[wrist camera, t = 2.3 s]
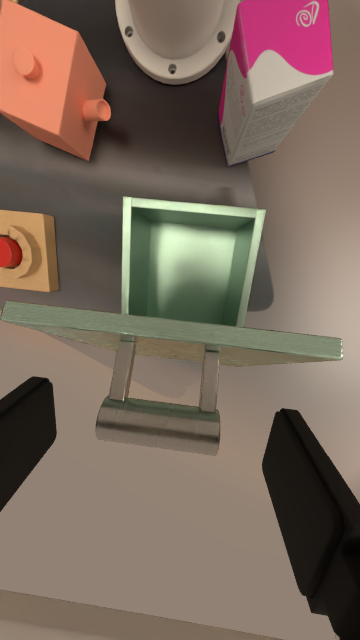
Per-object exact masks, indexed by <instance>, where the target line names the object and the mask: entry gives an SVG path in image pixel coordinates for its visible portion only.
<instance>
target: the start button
mask: <svg viewBox="0 0 360 640" xmlns="http://www.w3.org/2000/svg"><path fill="white" fill-rule="evenodd" d="M21 260H22V250H21V248H20V246H19V244H18V243H17V242H16V241H15V240H13V239H11V238H9V237H0V267H14V266H17V265H18V264H19V263H20V262H21Z"/></svg>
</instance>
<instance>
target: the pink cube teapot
mask: <svg viewBox="0 0 360 640" xmlns="http://www.w3.org/2000/svg"><path fill="white" fill-rule="evenodd" d="M105 87H106V83H105V81H104V79H103V77H102V75H101V73H100V71H99V69H98V68H97V66H96V64H95V62H94V60H93V58H92V56H91V55H90V53H89V51H88V49H87V47H86V45H85V43H84V41H83V40H82V38H81V36H80V34H79V32H77V31H75V30H73V29H71V28H68V27H66V26H64V25H62V24H60V23H58V22H55V21H53V20H51V19H49V18H47V17H45V16H42V15H40V14H38V13H36V12H34V11H32V10H29V9H27V8H25V7H23V6H21V5H18V4H16V3H14V2H12V1H10V0H2V6H1V15H0V113H1V114H3V115H4V116H5V117H7V118H8V119H10V120H11V121H12V122H14V123H15V124H17V125H18V126H19V127H21V128H22V129H24V130H25V131H26V132H28V133H29V134H31V135H32V136H33V137H35V138H36V139H38V140H41V141H43V142H45V143H48V144H50V145H52V146H55V147H57V148H59V149H62V150H64V151H66V152H69V153H71V154H73V155H75V156H78V157H80V158H82V159H85V160H87V161H89V158H90V153H91V149H92V147H93V140H94V136H95V131H96V127H97V123H98V121H107V120H109V119H110V116H111V109H110V106H109V104H108V103H107V102H106V101H105V100H104V99H103V96H104V91H105Z"/></svg>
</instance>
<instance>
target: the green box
mask: <svg viewBox="0 0 360 640" xmlns="http://www.w3.org/2000/svg"><path fill="white" fill-rule="evenodd" d="M265 212H266V210H265V209H256V208H246V207H235V206H224V205H213V204H202V203H190V202H179V201H168V200H157V199H146V198H135V197H124V196H123V225H122V292H121V313H122V314H130V315H139V316H148V317H157V318H166V319H175V320H184V321H192V322H201V323H210V324H219V325H228V326H237V327H243V326H244V321H245V316H246V311H247V306H248V300H249V295H250V290H251V285H252V280H253V274H254V269H255V264H256V259H257V254H258V248H259V243H260V238H261V233H262V228H263V222H264V217H265Z"/></svg>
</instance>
